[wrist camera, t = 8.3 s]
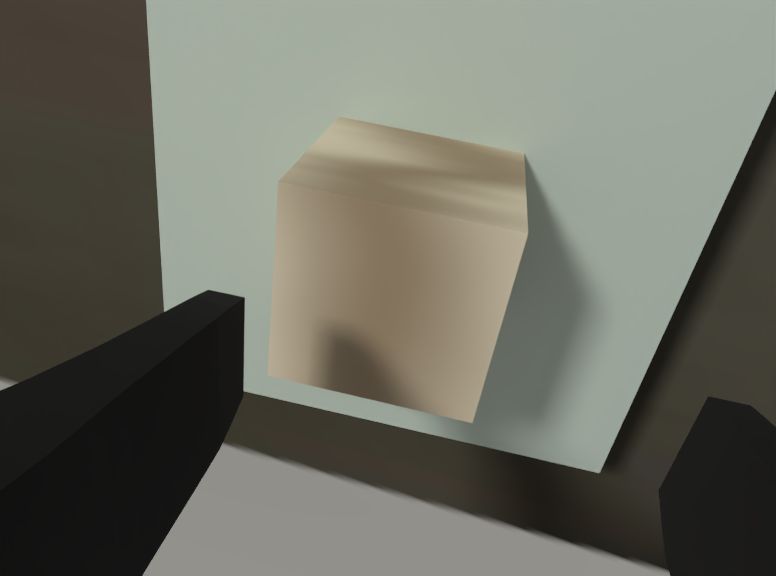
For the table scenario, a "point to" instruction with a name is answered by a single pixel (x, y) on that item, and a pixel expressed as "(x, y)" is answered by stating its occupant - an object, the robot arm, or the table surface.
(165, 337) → the robot arm
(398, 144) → the maple block
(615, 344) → the base board
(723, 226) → the table surface
